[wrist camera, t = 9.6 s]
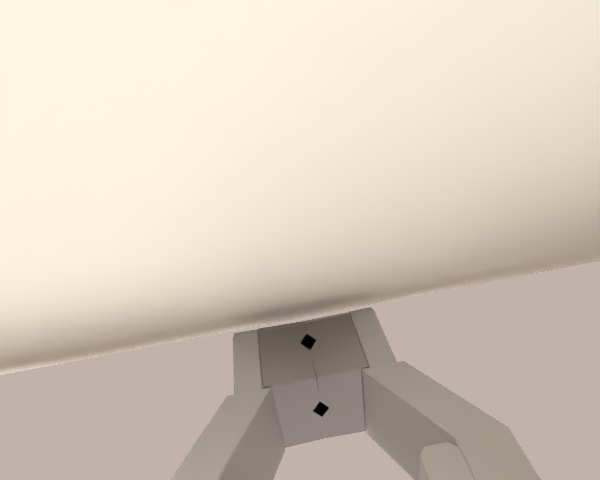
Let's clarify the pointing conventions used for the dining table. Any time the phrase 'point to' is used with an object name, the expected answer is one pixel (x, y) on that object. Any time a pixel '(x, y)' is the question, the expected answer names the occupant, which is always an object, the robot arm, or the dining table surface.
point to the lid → (282, 160)
